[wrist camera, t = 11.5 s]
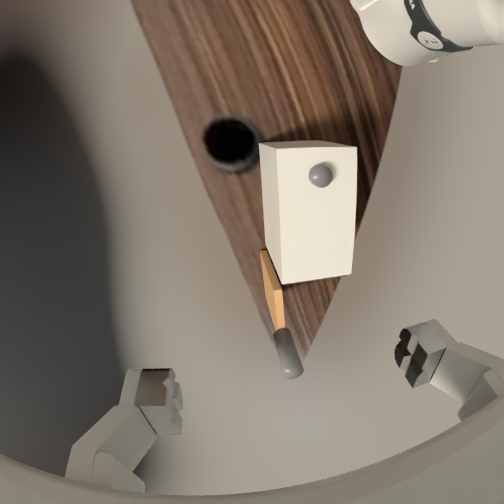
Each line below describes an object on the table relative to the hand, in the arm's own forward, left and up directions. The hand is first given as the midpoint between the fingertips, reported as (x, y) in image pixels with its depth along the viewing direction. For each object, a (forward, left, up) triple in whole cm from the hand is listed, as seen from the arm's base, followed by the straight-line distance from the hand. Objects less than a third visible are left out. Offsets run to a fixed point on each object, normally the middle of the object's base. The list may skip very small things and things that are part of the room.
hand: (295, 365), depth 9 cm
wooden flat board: (+13, +11, -34) cm, 38 cm away
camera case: (-1, +9, -34) cm, 35 cm away
